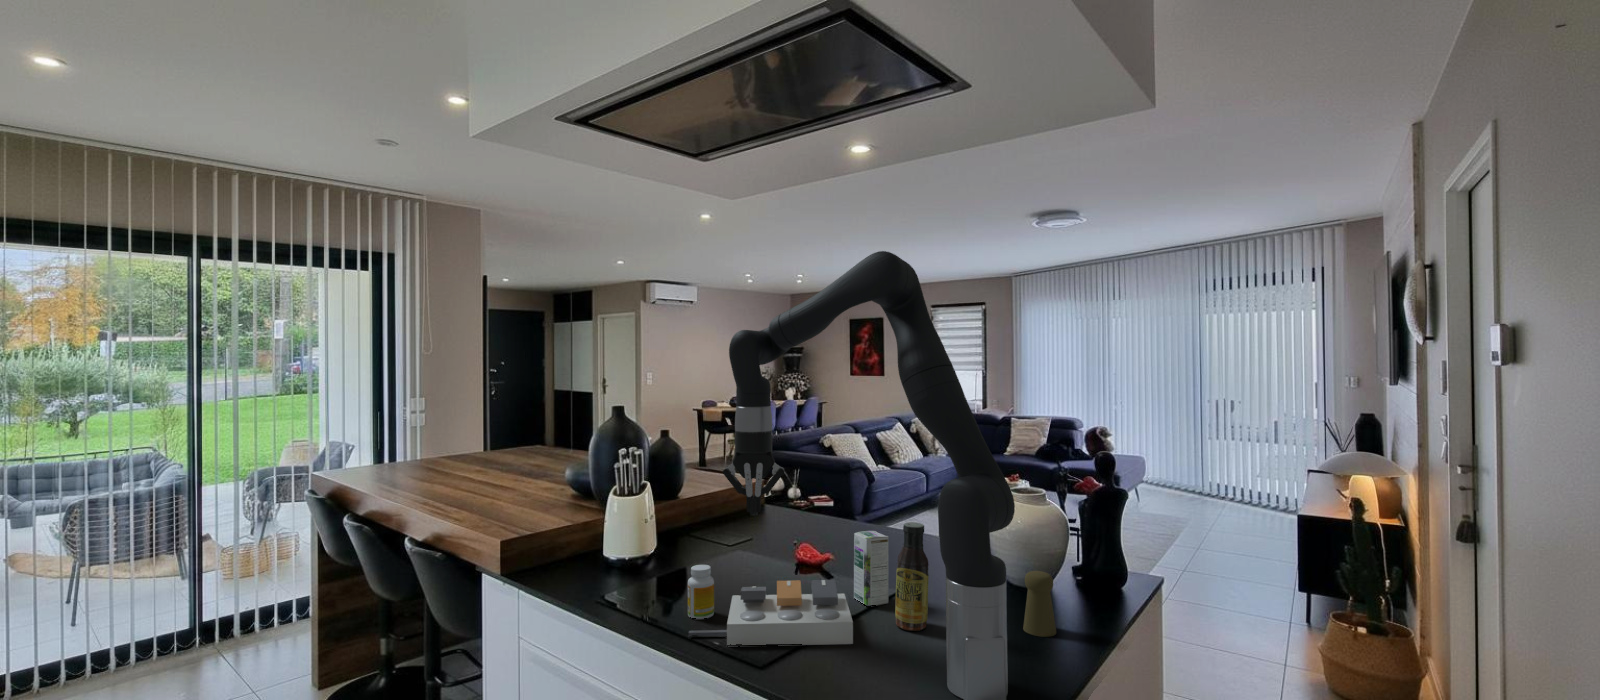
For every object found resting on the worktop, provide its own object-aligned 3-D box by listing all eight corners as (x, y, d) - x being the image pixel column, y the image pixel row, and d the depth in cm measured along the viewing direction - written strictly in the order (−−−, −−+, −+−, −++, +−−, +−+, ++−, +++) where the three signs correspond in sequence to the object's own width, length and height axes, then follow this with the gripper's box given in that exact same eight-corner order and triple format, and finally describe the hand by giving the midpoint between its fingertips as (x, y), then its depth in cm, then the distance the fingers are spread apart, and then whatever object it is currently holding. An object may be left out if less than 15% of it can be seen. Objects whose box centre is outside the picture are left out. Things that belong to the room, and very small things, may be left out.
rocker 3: (837, 609, 126) (837, 596, 125) (813, 609, 126) (813, 597, 125) (834, 591, 132) (835, 579, 132) (811, 591, 132) (811, 579, 131)
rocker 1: (765, 604, 125) (765, 589, 125) (740, 604, 125) (740, 590, 125) (766, 599, 131) (766, 586, 132) (742, 600, 131) (742, 586, 132)
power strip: (853, 643, 119) (852, 620, 119) (685, 647, 118) (685, 623, 118) (844, 613, 134) (844, 592, 134) (695, 615, 133) (695, 594, 133)
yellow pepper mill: (1059, 637, 121) (1058, 578, 121) (1025, 635, 122) (1024, 576, 122) (1053, 625, 127) (1052, 568, 127) (1021, 623, 128) (1020, 566, 128)
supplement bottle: (719, 613, 134) (719, 566, 134) (701, 622, 129) (701, 572, 130) (700, 608, 137) (700, 561, 137) (682, 616, 132) (682, 568, 133)
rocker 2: (801, 609, 126) (801, 597, 125) (776, 610, 125) (776, 597, 125) (800, 591, 132) (800, 579, 131) (776, 592, 132) (776, 580, 131)
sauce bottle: (890, 629, 125) (889, 525, 126) (901, 618, 131) (900, 519, 132) (923, 635, 122) (922, 529, 123) (933, 623, 128) (932, 522, 128)
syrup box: (852, 599, 142) (852, 532, 142) (876, 595, 144) (875, 529, 145) (866, 607, 137) (865, 538, 137) (890, 603, 139) (889, 535, 139)
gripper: (719, 430, 128) (719, 519, 127) (786, 430, 128) (786, 518, 128) (722, 427, 135) (722, 511, 135) (785, 426, 136) (786, 510, 135)
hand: (753, 514), depth 131 cm, fingers closed
